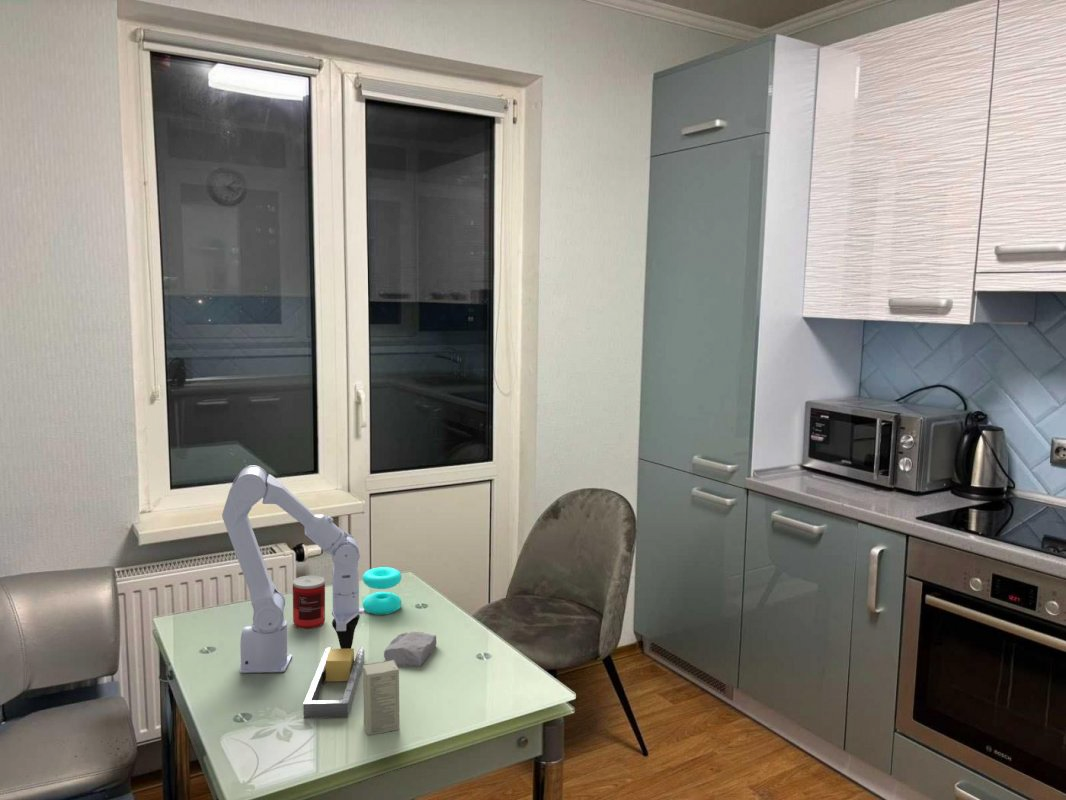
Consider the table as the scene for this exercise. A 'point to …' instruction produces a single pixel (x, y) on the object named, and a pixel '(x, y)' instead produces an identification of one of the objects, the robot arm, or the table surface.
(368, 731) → the skincare box
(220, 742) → the table surface
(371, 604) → the donuts
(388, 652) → the stone block
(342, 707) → the chute
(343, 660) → the block
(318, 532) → the robot arm
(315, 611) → the canned food
